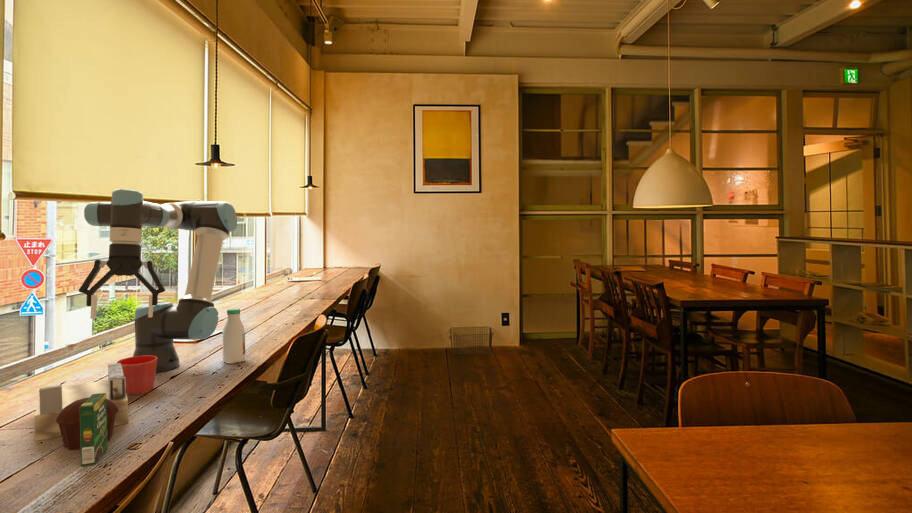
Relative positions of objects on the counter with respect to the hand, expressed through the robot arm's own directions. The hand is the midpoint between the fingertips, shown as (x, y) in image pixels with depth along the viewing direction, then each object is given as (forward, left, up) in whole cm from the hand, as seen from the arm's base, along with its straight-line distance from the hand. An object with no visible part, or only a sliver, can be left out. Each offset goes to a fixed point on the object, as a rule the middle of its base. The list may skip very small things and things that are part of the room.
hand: (122, 317), depth 137 cm
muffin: (+8, +26, -25) cm, 37 cm away
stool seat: (+9, +7, -25) cm, 27 cm away
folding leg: (+2, +8, -18) cm, 20 cm away
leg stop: (+15, +18, -19) cm, 30 cm away
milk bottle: (-36, -29, -25) cm, 52 cm away
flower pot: (-4, -10, -25) cm, 27 cm away
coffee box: (+7, +37, -25) cm, 45 cm away
